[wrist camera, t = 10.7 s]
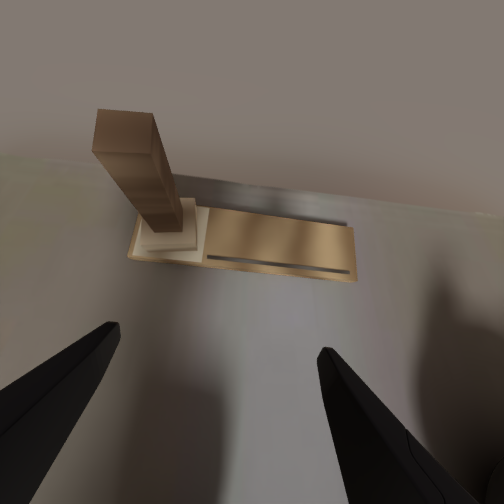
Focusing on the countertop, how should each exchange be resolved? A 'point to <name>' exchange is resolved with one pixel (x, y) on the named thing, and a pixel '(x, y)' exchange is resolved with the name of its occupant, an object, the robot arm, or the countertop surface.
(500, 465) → the coal bowl
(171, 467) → the countertop surface
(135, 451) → the countertop surface
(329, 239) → the oak plank
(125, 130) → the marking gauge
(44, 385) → the robot arm
